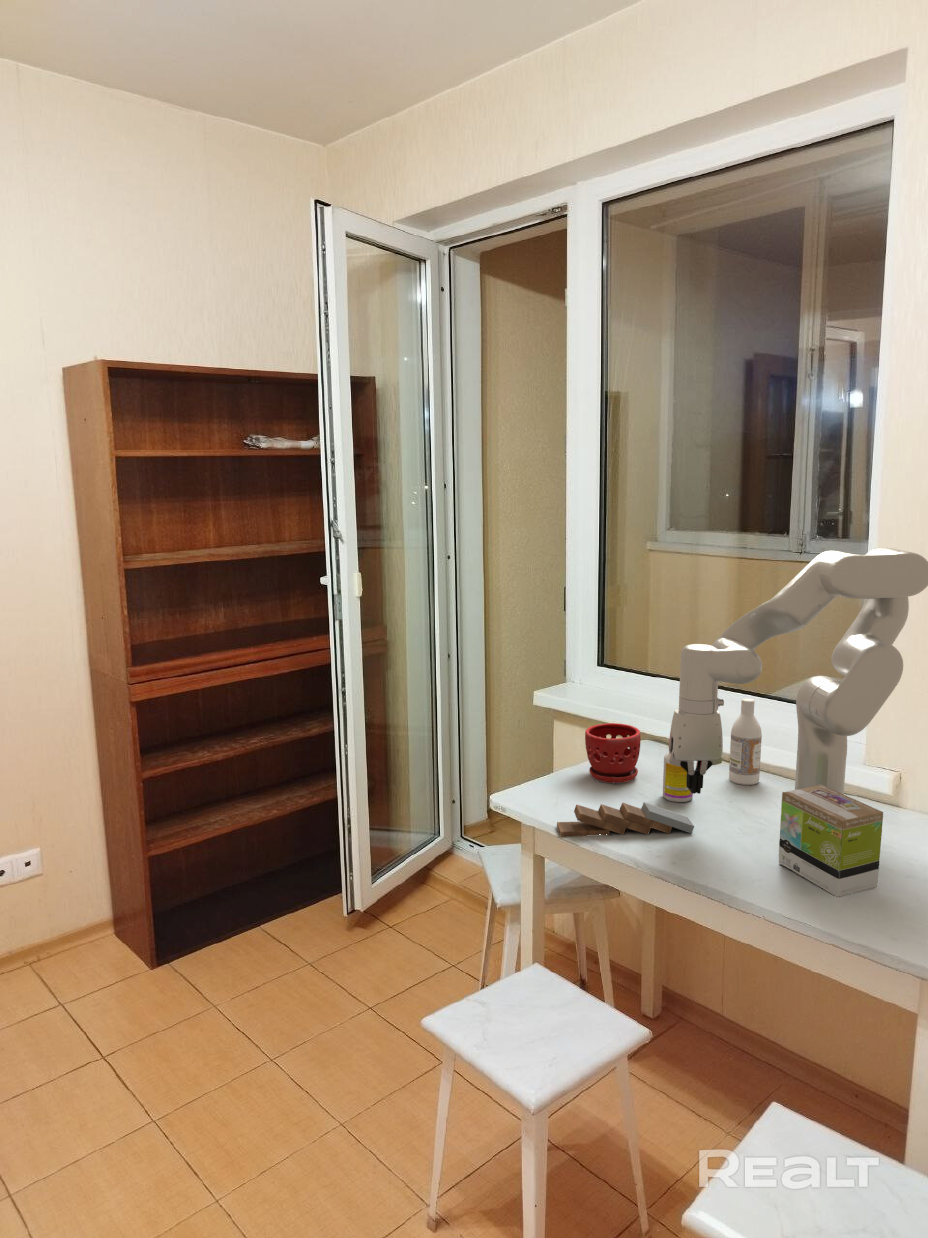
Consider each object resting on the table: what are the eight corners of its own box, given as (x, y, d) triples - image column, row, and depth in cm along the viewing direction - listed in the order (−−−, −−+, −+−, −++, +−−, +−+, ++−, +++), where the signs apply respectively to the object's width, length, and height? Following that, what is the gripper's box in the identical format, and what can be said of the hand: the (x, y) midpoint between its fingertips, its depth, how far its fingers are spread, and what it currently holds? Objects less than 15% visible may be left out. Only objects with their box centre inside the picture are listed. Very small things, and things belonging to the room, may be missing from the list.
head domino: (687, 817, 189) (643, 802, 188) (694, 826, 184) (649, 811, 183) (684, 823, 189) (641, 809, 188) (691, 833, 184) (646, 818, 183)
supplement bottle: (695, 803, 200) (697, 748, 198) (665, 803, 200) (667, 748, 198) (688, 792, 207) (691, 739, 204) (660, 792, 207) (661, 739, 205)
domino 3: (645, 818, 188) (600, 804, 187) (650, 827, 183) (605, 813, 182) (642, 825, 188) (598, 811, 188) (648, 834, 183) (602, 820, 183)
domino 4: (666, 817, 188) (622, 802, 188) (672, 826, 184) (627, 811, 183) (663, 824, 189) (619, 809, 188) (669, 833, 184) (624, 818, 183)
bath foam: (750, 788, 209) (754, 705, 206) (723, 780, 214) (727, 699, 211) (764, 780, 214) (768, 699, 211) (738, 773, 219) (741, 694, 216)
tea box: (775, 864, 170) (780, 790, 167) (816, 855, 174) (821, 782, 171) (837, 899, 156) (842, 818, 153) (879, 888, 160) (885, 809, 157)
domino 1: (604, 820, 188) (556, 822, 187) (609, 830, 183) (560, 831, 182) (604, 828, 188) (556, 829, 188) (609, 837, 183) (560, 839, 183)
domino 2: (621, 818, 188) (576, 804, 187) (626, 827, 183) (580, 813, 182) (618, 825, 188) (573, 811, 188) (623, 834, 183) (577, 820, 183)
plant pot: (605, 765, 226) (607, 719, 224) (650, 777, 217) (651, 729, 215) (573, 777, 217) (574, 729, 215) (617, 791, 208) (619, 741, 206)
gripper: (727, 699, 186) (723, 784, 189) (656, 701, 185) (653, 786, 188) (740, 709, 179) (736, 797, 182) (666, 711, 178) (663, 799, 181)
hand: (694, 791), depth 185 cm, fingers closed
